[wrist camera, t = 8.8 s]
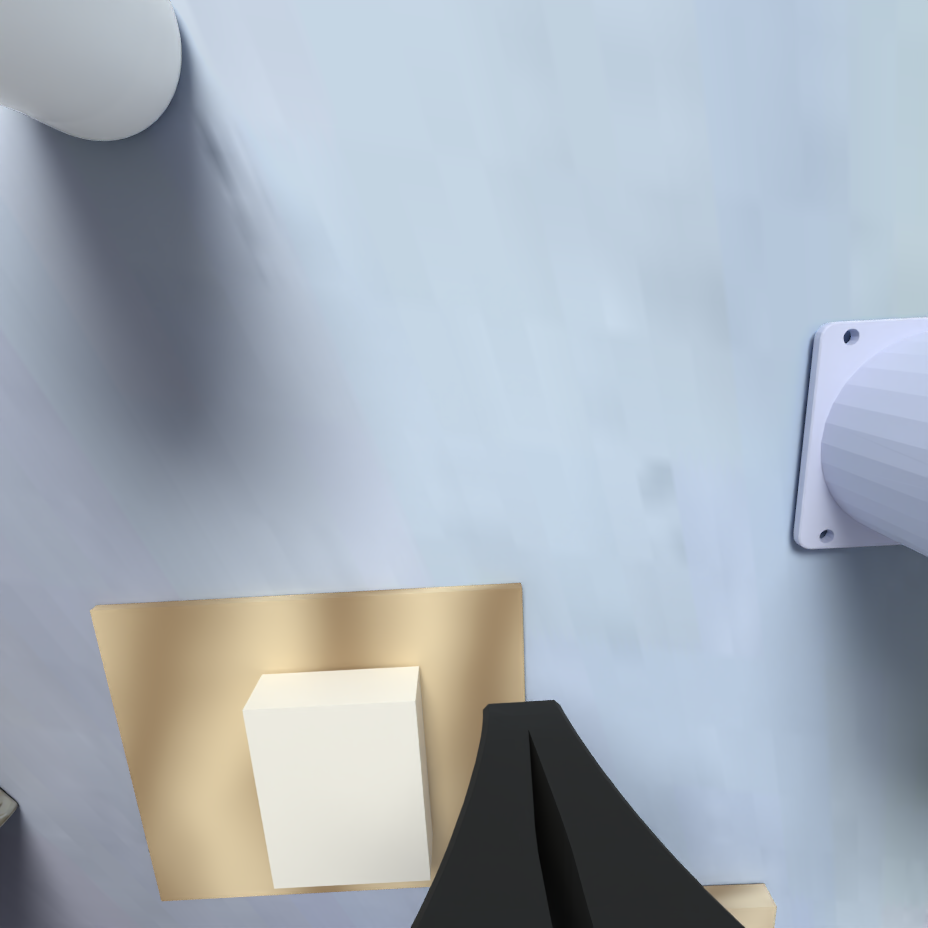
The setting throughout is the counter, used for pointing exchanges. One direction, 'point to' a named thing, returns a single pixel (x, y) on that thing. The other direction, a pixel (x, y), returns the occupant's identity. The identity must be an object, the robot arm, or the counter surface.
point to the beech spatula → (747, 903)
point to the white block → (342, 776)
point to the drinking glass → (89, 63)
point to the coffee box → (6, 807)
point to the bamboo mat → (289, 651)
